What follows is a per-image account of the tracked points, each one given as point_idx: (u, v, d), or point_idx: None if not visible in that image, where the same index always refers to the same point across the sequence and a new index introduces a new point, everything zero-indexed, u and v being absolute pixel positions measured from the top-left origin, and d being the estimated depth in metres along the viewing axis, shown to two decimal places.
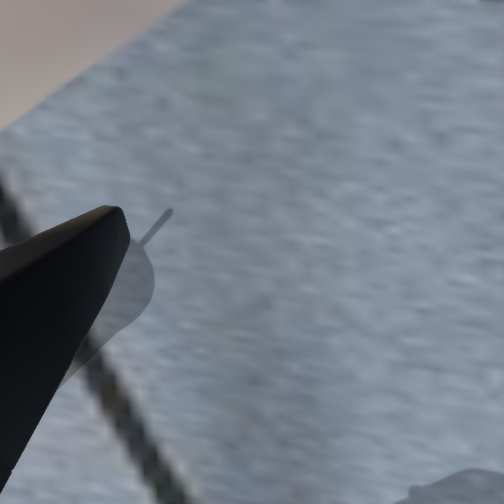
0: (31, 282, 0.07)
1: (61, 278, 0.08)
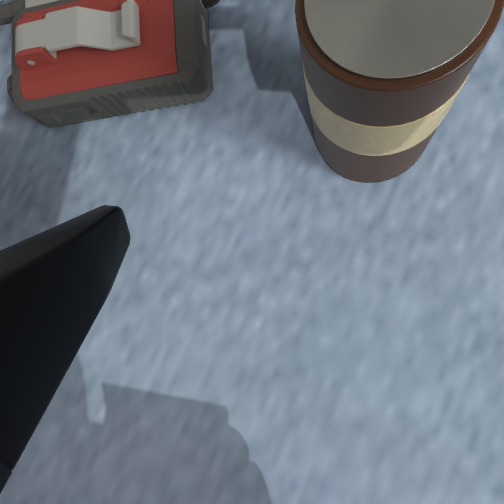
0: (31, 282, 0.07)
1: (61, 278, 0.08)
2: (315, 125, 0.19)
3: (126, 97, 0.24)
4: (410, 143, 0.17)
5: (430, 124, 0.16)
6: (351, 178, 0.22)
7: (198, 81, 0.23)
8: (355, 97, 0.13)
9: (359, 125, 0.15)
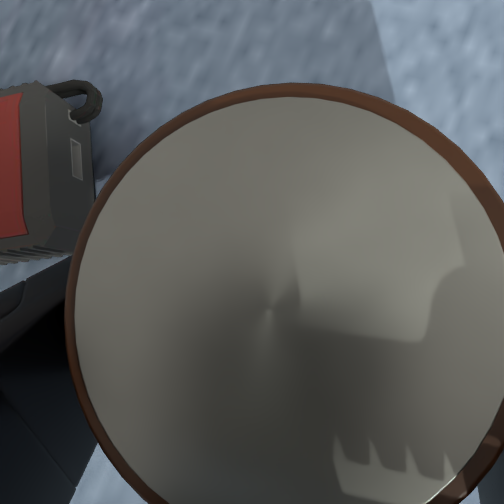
0: None
1: None
2: None
3: None
4: None
5: None
6: None
7: (64, 239, 0.16)
8: None
9: None
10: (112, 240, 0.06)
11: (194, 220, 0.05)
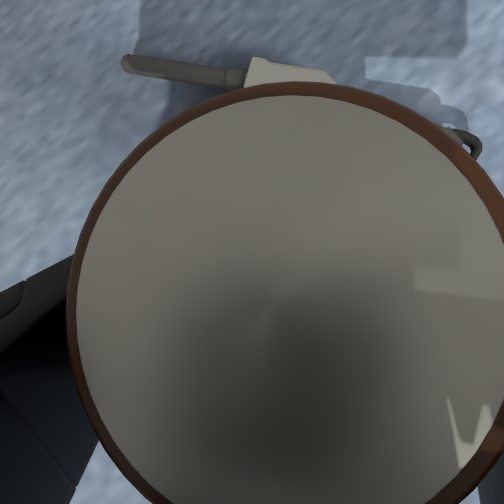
0: None
1: None
2: None
3: None
4: None
5: None
6: None
7: None
8: None
9: None
10: (114, 239, 0.06)
11: (195, 219, 0.05)
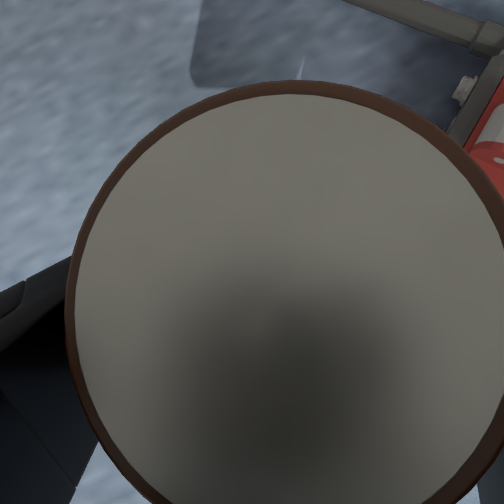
0: None
1: None
2: None
3: None
4: None
5: None
6: None
7: None
8: None
9: None
10: (112, 237, 0.06)
11: (194, 218, 0.05)
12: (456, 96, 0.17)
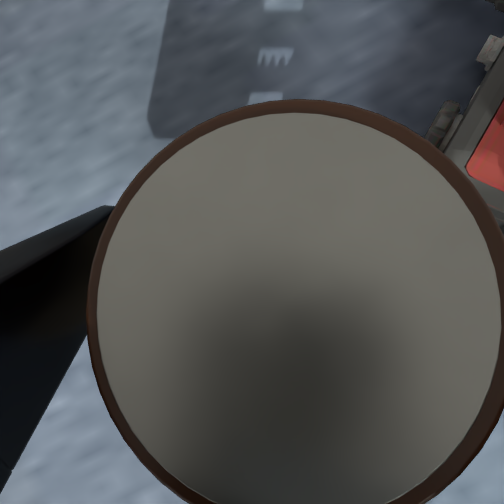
0: (31, 282, 0.07)
1: (61, 278, 0.08)
2: None
3: None
4: None
5: None
6: None
7: None
8: None
9: None
10: (131, 244, 0.06)
11: (208, 226, 0.06)
12: (482, 58, 0.14)
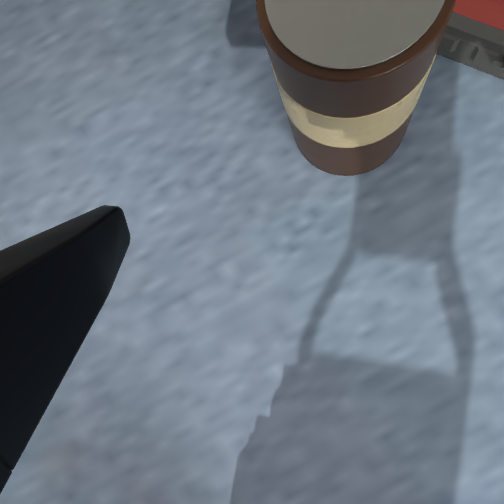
0: (31, 282, 0.07)
1: (61, 278, 0.08)
2: (290, 120, 0.19)
3: None
4: (382, 134, 0.17)
5: (399, 114, 0.16)
6: (330, 172, 0.22)
7: None
8: (319, 89, 0.13)
9: (328, 117, 0.15)
10: None
11: None
12: None
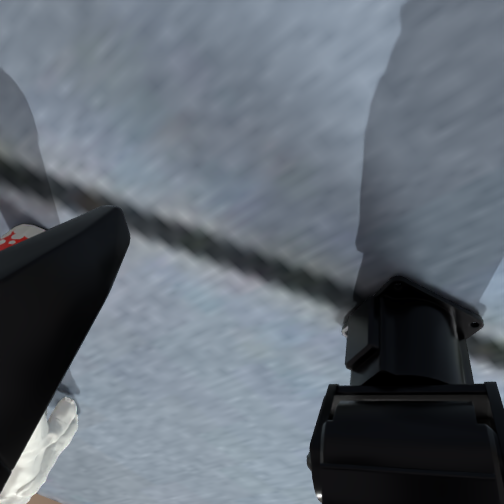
0: (31, 282, 0.07)
1: (61, 278, 0.08)
2: None
3: None
4: None
5: None
6: None
7: None
8: None
9: None
10: None
11: None
12: None
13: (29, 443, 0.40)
